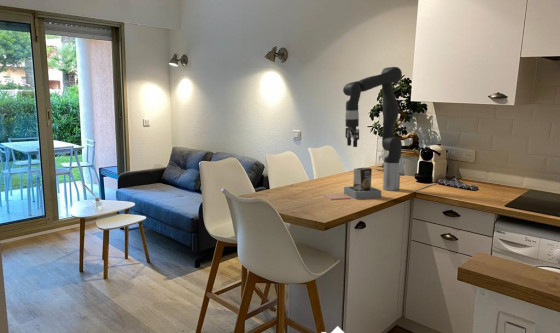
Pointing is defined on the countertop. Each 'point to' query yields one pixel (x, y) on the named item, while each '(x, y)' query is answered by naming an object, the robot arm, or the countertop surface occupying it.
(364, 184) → the coffee box
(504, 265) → the countertop surface
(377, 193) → the grey square tray
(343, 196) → the coaster
